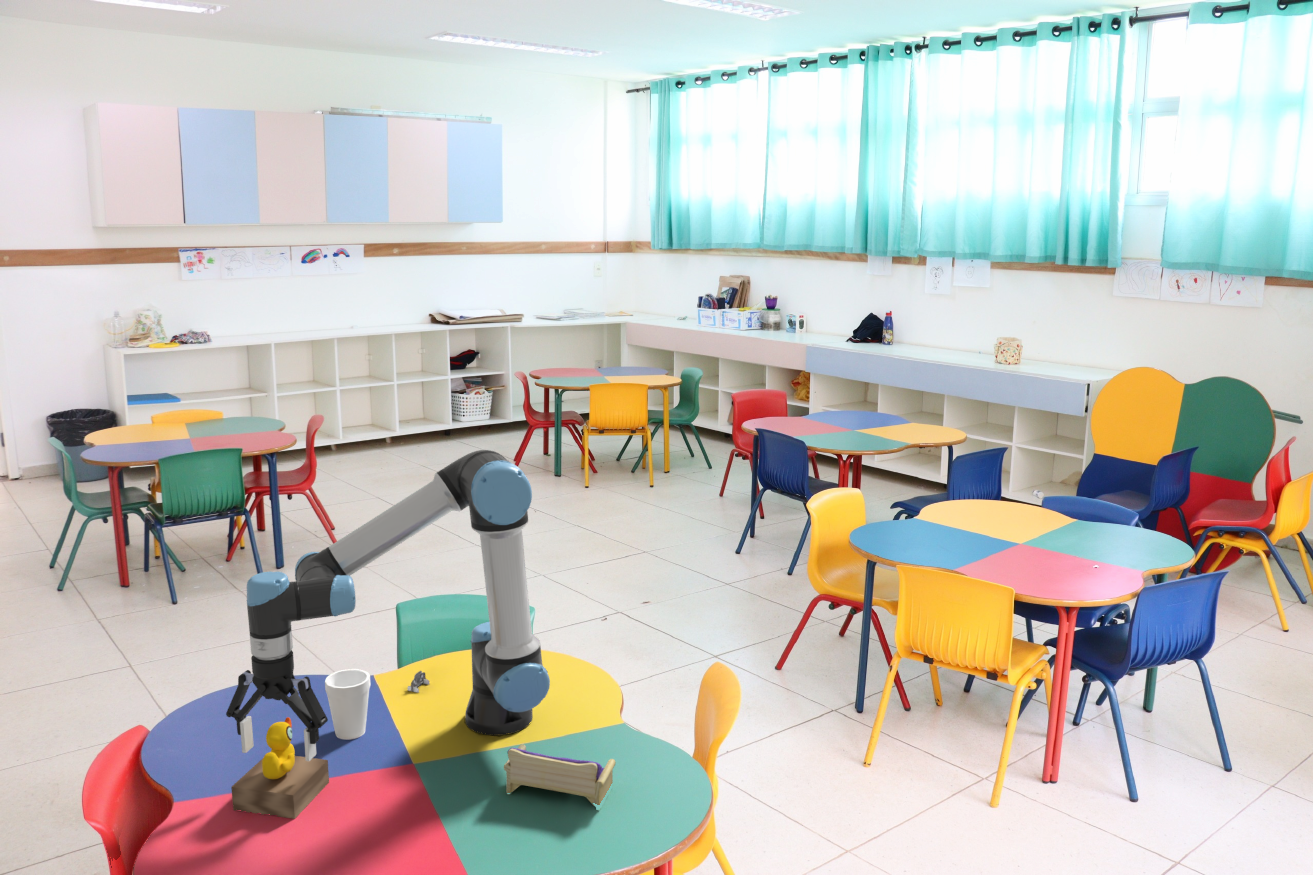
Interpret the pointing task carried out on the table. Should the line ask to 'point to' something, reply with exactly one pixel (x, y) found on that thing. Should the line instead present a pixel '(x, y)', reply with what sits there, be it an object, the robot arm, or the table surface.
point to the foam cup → (348, 701)
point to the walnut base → (281, 788)
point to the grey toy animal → (418, 682)
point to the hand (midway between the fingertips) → (279, 753)
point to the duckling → (279, 750)
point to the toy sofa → (558, 774)
